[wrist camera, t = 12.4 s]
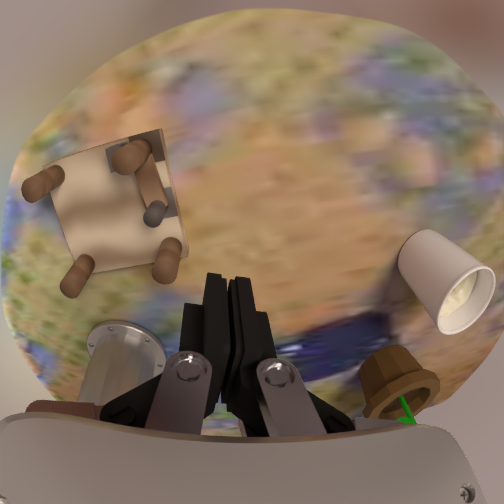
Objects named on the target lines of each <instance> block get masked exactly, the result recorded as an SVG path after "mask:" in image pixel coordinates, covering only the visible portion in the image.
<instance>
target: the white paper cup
mask: <svg viewBox="0 0 504 504" xmlns="http://www.w3.org/2000/svg"><path fill="white" fill-rule="evenodd" d="M398 269H399V272H400V274H401V275H402V277H403V278H404V280H405V281H406V283H407V284H408V285H409V287H410V288H411V290H412V291H413V292H414V294H415V295H416V297H417V298H418V299H419V301H420V302H421V304H422V305H423V306H424V308H425V309H426V311H427V312H428V314H429V315H430V317H431V318H432V320H433V321H434V323H435V324H436V326H437V328H438V330H439V331H440V332H441V333H443V334H446V335H452V334H456V333H458V332H461V331H463V330H464V329H466V328H467V327H469V326H470V325H471V324H473V323H474V322H475V321H476V320H477V319H478V318H479V317H480V315H481V314H482V313H483V312H484V310H485V309H486V307H487V306H488V304H489V302H490V300H491V298H492V295H493V292H494V289H495V275H494V272H493V271H492V270H491V269H490V268H489V267H487V266H486V265H484V264H483V263H481V262H480V261H479V260H477V259H476V258H475V257H473V256H472V255H470V254H469V253H468V252H466V251H465V250H463V249H462V248H460V247H459V246H457V245H456V244H455V243H453V242H452V241H450V240H449V239H447V238H446V237H444V236H443V235H441V234H439V233H438V232H436V231H434V230H430V229H425V230H421V231H418V232H417V233H415V234H413V235H412V236H411V237H410V238H409V239H408V240H407V241H406V242H405V244H404V245H403V247H402V249H401V251H400V254H399V257H398Z"/></svg>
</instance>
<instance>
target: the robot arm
mask: <svg viewBox="0 0 504 504" xmlns="http://www.w3.org/2000/svg"><path fill="white" fill-rule="evenodd" d="M87 349H88V352H89V355H90V356H91V360H90V363H89V365H88V368H87V371H86V374H85V377H84V380H83V383H82V386H81V389H80V392H79V395H78V399H77V402H65V401H51V400H36V401H34V402H32V403H31V404H30V405H29V406H28V407H27V409H26V411H25V413H19V414H14V415H11V416H8V417H6V418H4V419H3V420H1V421H0V504H487V503H486V501H485V498H484V496H483V493H482V490H481V488H480V485H479V483H478V481H477V478H476V476H475V474H474V472H473V470H472V467H471V466H470V463H469V461H468V459H467V457H466V456H465V454H464V452H463V450H462V449H461V447H460V445H459V444H458V442H457V441H456V440H455V438H454V437H453V436H452V435H451V434H450V433H449V432H447V431H446V430H444V429H441V428H438V427H435V426H429V425H421V424H404V423H403V422H401V421H397V420H384V419H371V418H360V417H354V418H353V419H350V418H349V417H348V416H346V415H345V414H344V413H342V412H341V411H339V410H337V409H336V408H334V407H333V406H331V405H329V404H328V403H326V402H325V401H323V400H321V399H320V398H318V397H317V396H315V395H314V394H312V393H311V392H309V391H308V390H306V387H305V385H304V383H303V381H302V379H301V377H300V375H299V372H298V371H297V369H296V368H295V367H294V366H293V365H292V364H291V363H289V362H287V361H285V360H282V359H279V358H277V356H276V351H275V347H274V342H273V338H272V333H271V329H270V324H269V320H268V315H267V313H266V312H260V311H256V308H255V303H254V297H253V292H252V286H251V280H250V278H246V277H238V276H236V277H235V280H233V279H230V281H229V286H228V291H227V281H226V279H225V278H222V276H221V274H215V273H207V278H206V284H205V290H204V297H203V303H202V305H198V304H190V303H185V304H184V311H183V320H182V328H181V337H180V347H179V352H177V353H174V354H173V355H171V356H170V357H169V358H168V360H167V362H166V352H165V349H164V347H163V345H162V344H161V342H160V341H159V340H158V339H157V338H156V337H155V336H154V335H153V334H152V333H150V332H149V331H148V330H146V329H144V328H142V327H140V326H138V325H135V324H133V323H129V322H125V321H116V320H115V321H106V322H102V323H100V324H98V325H96V326H95V327H94V328H93V329H92V330H91V332H90V333H89V336H88V339H87ZM162 371H163V373H161V372H162ZM160 373H161V374H160ZM220 391H221V402H222V403H225V404H227V412H232V413H233V414H234V415H235V416H236V417H238V418H239V420H238V423H239V428H240V432H241V435H242V437H229V436H209V435H201V429H202V424H203V419H205V418H206V417H207V416H209V415H210V414H211V413H213V412H214V408H215V404H216V403H218V399H219V395H220Z"/></svg>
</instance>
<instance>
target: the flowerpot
mask: <svg viewBox="0 0 504 504" xmlns="http://www.w3.org/2000/svg"><path fill="white" fill-rule="evenodd" d="M359 376H360V380H361V383H362V387H363V391H364V395H365V399H366V403H367V405H366V406H365V408H364V410H363V414H364V416H365V418H371V419H384V420H397V421H401V422H403V423H404V424H417V423H416V421H415V419H414V416H415V415H417V414H418V413H419V412H421V411H422V410H423V409H424V408H425V407H427V406H428V405H429V404H430V403H431V402H432V401H433V399H434V398H435V397H436V395H437V394H438V392H439V391H440V380H439V379H438V377H437V376H436V374H435V373H434V372H431V371H429V370H426V369H423V368H422V366H421V365H420V364H419V363H418V362H417V361H416V359H415V358H414V357H413V356H412V355H411V354H410V352H409V351H408V350H407V349H406V348H404V347H402V346H400V345H395V346H388V347H385V348H383V349H381V350H379V351H378V352H376V353H374V354H372V355H371V356H370V357H369V358H368V359H367V360H366V361H365V362H364V363H363V364H362V367H361V369H360V371H359Z"/></svg>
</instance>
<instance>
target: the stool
mask: <svg viewBox="0 0 504 504" xmlns="http://www.w3.org/2000/svg"><path fill="white" fill-rule="evenodd" d="M139 138H143V139H146V140H148V141H149V142H150V143H151V145H152V155H153V158H154V161H155V164H156V167H157V170H158V173H159V176H160V179H161V182H162V184H163V187H164V190H165V193H166V196H167V199H168V208H167V211H166V213H165V215H164V218H163V220H162V222H161V224H160V225H159V226H158V227H155V228H151V227H148V226H147V225H146V224H145V223H144V221H143V215H144V213H145V212H146V210H147V207H146V204H145V201H144V199H143V196H142V193H141V190H140V188H139V185H138V182H137V179H136V176H135V174H134V172H133V173H132V174H130V175H120V174H118V173H117V172H116V171H115V170H114V169H113V167H112V163H111V159H112V155H113V154H114V152H115V151H116V150H117V149H119V148H121V147H123V146H124V145H126V144H128V143H130V142H132V141H134V140H136V139H139ZM21 190H22V195H23V197H24V199H25V200H26V201H28V202H30V203H34V202H36V201H38V200H39V199H40V198H42V197H43V196H45V195H46V194H48V193H49V192H50V194H51V197H52V200H53V203H54V206H55V209H56V212H57V215H58V218H59V221H60V224H61V227H62V229H63V232H64V235H65V238H66V240H67V243H68V245H69V248H70V250H71V253H72V255H73V258H74V260H75V263H74V264H73V265H72V267H71V268H70V270H69V271H68V272H67V274H66V275H65V277H64V278H63V280H62V281H61V283H60V290H61V292H62V293H63V294H64V295H65V296H66V297H68V298H76V297H78V295H79V293H80V292H81V290H82V288H83V286H84V285H85V283H86V281H87V280H88V278H89V276H90V275H91V273H97V272H102V271H108V270H114V269H119V268H125V267H131V266H136V265H142V264H148V263H153V262H155V263H154V266H153V269H152V276H153V278H154V279H155V280H156V281H157V282H158V283H161V284H170V283H172V282H174V281H175V279H176V277H177V272H178V267H179V262H180V258H182V257H188V253H189V245H188V241H187V237H186V233H185V229H184V225H183V221H182V217H181V213H180V209H179V205H178V201H177V196H176V192H175V188H174V183H173V179H172V174H171V170H170V165H169V160H168V156H167V151H166V146H165V141H164V136H163V131H162V129H157V130H153V131H149V132H145V133H141V134H137V135H134V136H130V137H127V138H123V139H119V140H116V141H113V142H109V143H106V144H103V145H99V146H96V147H93V148H90V149H87V150H84V151H81V152H78V153H75V154H72V155H70V156H67V157H64V158H61V159H58V160H56V161H53V162H51V163H49V164H47V165H44V166H43V171H41V172H39V173H37V174H35V175H34V176H32V177H30V178H28V179H26V180H25V181H24V182H23V184H22V189H21Z"/></svg>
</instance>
